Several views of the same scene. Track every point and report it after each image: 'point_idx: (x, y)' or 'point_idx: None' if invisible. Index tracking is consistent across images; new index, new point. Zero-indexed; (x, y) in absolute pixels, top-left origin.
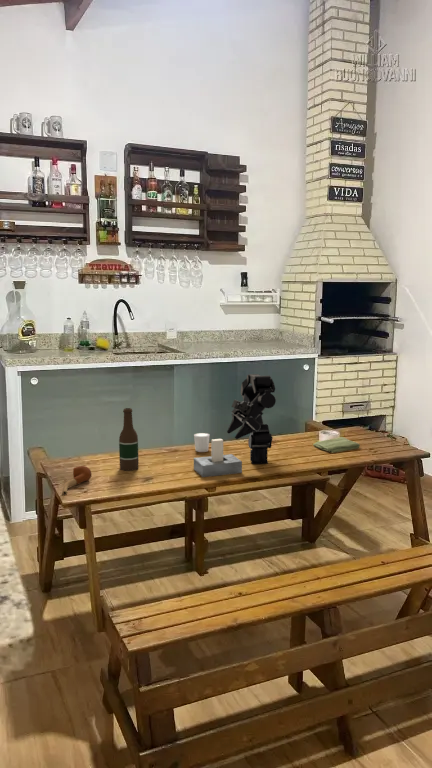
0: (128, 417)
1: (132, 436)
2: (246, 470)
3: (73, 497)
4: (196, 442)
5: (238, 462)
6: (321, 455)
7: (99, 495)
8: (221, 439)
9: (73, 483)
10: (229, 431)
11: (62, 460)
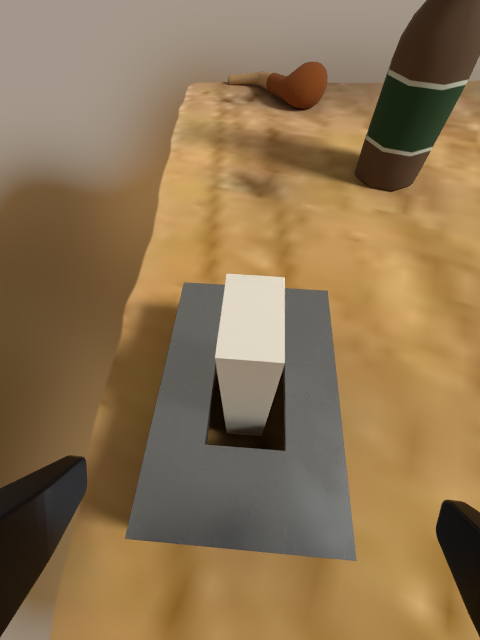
0: None
1: (410, 36)
2: (177, 598)
3: (204, 88)
4: None
5: (134, 503)
6: None
7: (190, 110)
8: (248, 353)
9: (262, 82)
10: (459, 549)
11: (476, 100)
